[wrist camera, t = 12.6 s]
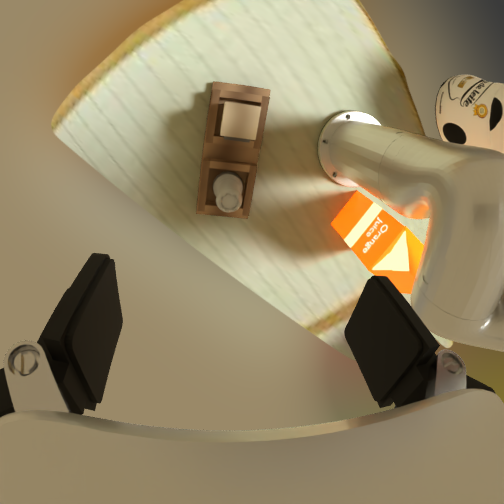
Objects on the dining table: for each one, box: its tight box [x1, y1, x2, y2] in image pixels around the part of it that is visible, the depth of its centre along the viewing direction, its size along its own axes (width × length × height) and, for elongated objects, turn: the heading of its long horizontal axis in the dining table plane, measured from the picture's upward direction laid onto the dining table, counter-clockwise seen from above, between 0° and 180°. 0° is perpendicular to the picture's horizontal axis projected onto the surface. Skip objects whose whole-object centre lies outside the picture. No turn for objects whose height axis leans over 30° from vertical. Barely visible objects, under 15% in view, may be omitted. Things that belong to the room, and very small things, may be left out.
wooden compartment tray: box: [196, 82, 270, 219], centre depth 35 cm, size 8×20×9 cm, turn 171°
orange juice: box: [331, 191, 424, 294], centre depth 38 cm, size 8×9×20 cm
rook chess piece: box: [213, 171, 243, 213], centre depth 37 cm, size 4×4×8 cm
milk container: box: [435, 75, 504, 153], centre depth 30 cm, size 17×17×18 cm
